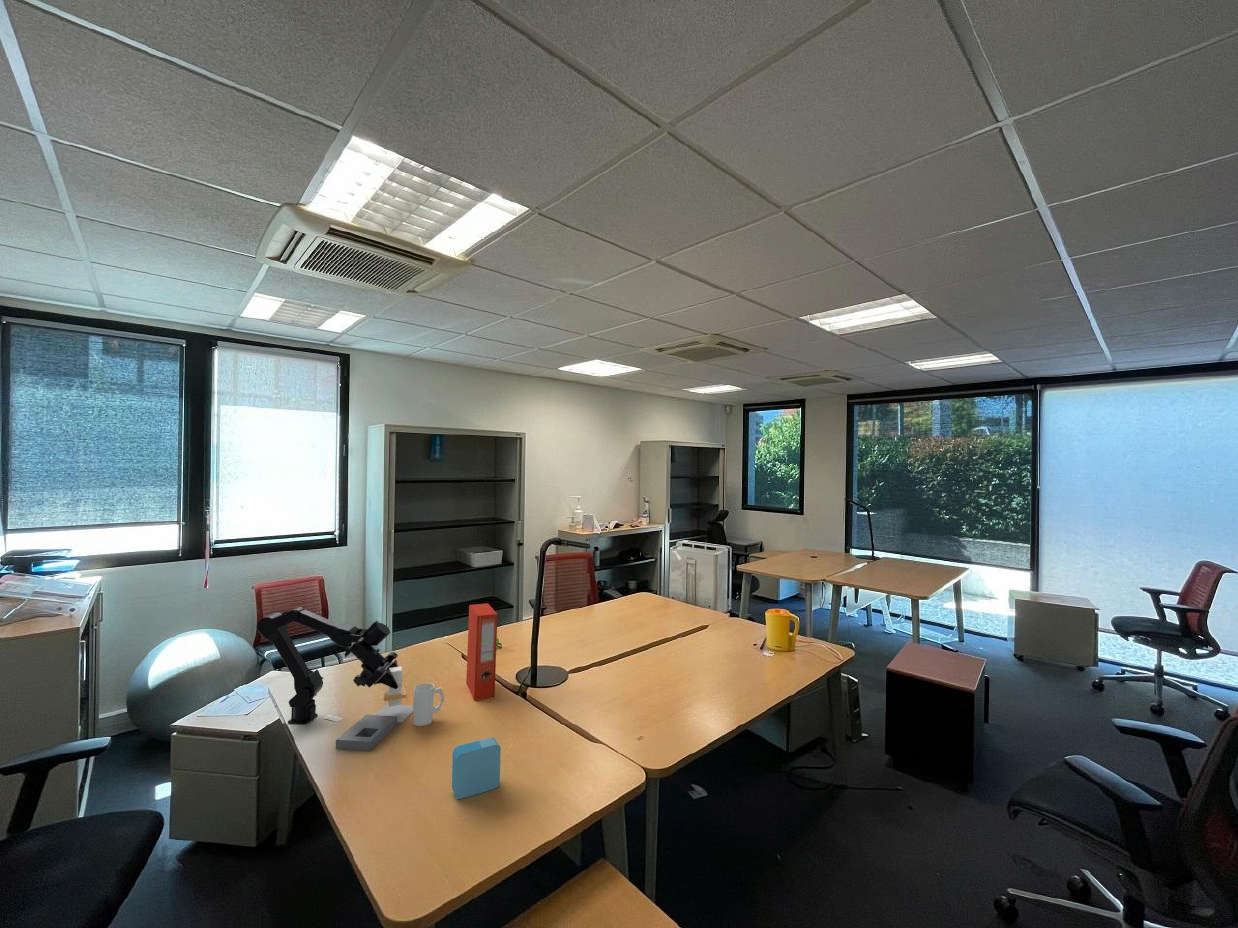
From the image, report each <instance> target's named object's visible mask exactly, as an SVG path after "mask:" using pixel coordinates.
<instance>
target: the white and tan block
mask: <svg viewBox="0 0 1238 928" xmlns="http://www.w3.org/2000/svg"><path fill="white" fill-rule="evenodd" d="M389 669H390V671H391V673H392V675H393V677H394V679H395V681H396V682H397V685H398V688H397V689H394V688H392V687H389V686H388V689H384V690H383V698H384V699H383V700H384V702H387V704H388V705H389V707H390V706H396V705H402V699H405V698H407V697H408V695H407V691H406V687H405V686H403V667H402V666H398V667H394V668H389Z"/></svg>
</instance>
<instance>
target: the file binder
mask: <svg viewBox="0 0 1238 928" xmlns="http://www.w3.org/2000/svg"><path fill="white" fill-rule="evenodd" d="M498 616H499V615H498V612H496V611H495V610H494V608H493V607H492V606H491V605H490V603H477V604H469V606H468V627H467V628H468V629H467V650H466V651H467V655H466V681H465V683H466V685H467V687H468V689H469V692H470V695H471V697H472V700H473V701H481V700H485V699H492V698H495V694H496V667H497V640H498Z"/></svg>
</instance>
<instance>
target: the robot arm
mask: <svg viewBox="0 0 1238 928" xmlns="http://www.w3.org/2000/svg"><path fill="white" fill-rule="evenodd" d="M294 622H295V623H297V624H300V625H302V626H305V627H306V628H309V629H311V630H314V631H317V632H319V633H321V634H323V635H325V636H327V637H328V638H329V639H330V640H331V641H332V642H333V643H334V644H336V645H338V646H339V647H343V648H345V649H344V651H345V652H344V657H348V656H349V655H350V654H352V655H353V656H354V657H355V658H356V659H357V660H359V662H360V663H361V665H360V668H362V671H361V672H360V674H356V675H355V676H354V678H353V680H352V681H353V682H354V684H355V685H356V686H357V687H361V686H362V687H364V688H365V687H366V686H367V688H371V687H372V686H373V685H374V686H375V685H378V684H382V685H385V686H387V687H388V688H389V687H392V688H394V689H397V688H398V685H397V682H396V681H395V679H394V677H393V675H392V673H391V671H390V669H389V668H394V667H399V664H398V660H397V659H396V658H398V656H399V655H398V654H397V652H396V651H391V652H390V653H388V654H387V655H386V656H385V657H384V656H383V655H382V654H381V653H380V651H381V649H379V648H377V649H375V647H376V646H378V645H380V644H381V643H382V642H383V641H384V640H385V639H386V638H387V637H388V636H389V635H390V634H391V630H390V628H389V626H387V625H386V624H384V623H381V622H379V621H378V620H375V621H373V622H372V624H371V625H370V626H369V627H368V628H362V627H361V628H360V627H357V626H356V625H354V624H353V625H352V624H350V623H349V624H348V623H342V622H336V621H333V620H331V619H328V618H326V617H323V616H321V615H318V614H316V613H314V612H312V611H309V610H307V609H305V608H304V607H303V606H302V607H300V606H298V607H295V608H293V609H289V610H286V611H284V612H272V613H269V614H268V615H266V616H265V617H262V618H261V619H259V620H258V622H257V625H256V630H257V631H258V633H259V634H260V635H261V636H262V637H263V638H264V639H266V640H267V641H269V642H270V643H272V644H273V646H274V647H275V650H276V651H277V652H278V654H279V655H280V657H281V659H282V661H283V662H284V664H285V666H286V667H287V669H288V671H289V673H290V674H291V676H292V679H293V689H294V690H295V695H294V696H293V697H291V698H290V699H289V700H288V705H289V708H291V714H290V718H291V719H289V720H287V724H296V725H306V724H308V722H310V721H311V720H313V719H314V718H316V717H317V716H318V713H316V712H317V708H316V707H317V705H316V699H314V698H315V697H316V696H317V695H318V693H319V692H320V691H321V690H322V688H323V687H324V681H323V680H324V677H323V676H322V675H321V674H320V671H319V670H318V669H315V670H311V669H310V668H309V667H308V666H307V663H306V662H305V660H304V659H303V657H302V655H301V654H300V652H299V650H298V648H297V647H296V645H295V644H294V642H293V640H292V639H291V637H290V635H289V629H288V628H289V627H288V624H291V623H294ZM361 639H362V640H361ZM352 643H353V644H352ZM350 645H351V646H350ZM374 646H375V647H374Z"/></svg>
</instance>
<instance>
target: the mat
mask: <svg viewBox="0 0 1238 928" xmlns="http://www.w3.org/2000/svg"><path fill="white" fill-rule="evenodd" d="M374 715H383V716H397V724H403V723H404V722H405V721H406V720H407V719H408V718H409V717H410V716H411V715H413V705H411V704H401V705H396V706H390V707H389V705H388V703H387V704H385V705H384V706H383V707H382V708H381V709H379V710H378V711H377V712H376V713H375V714H374Z"/></svg>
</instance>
